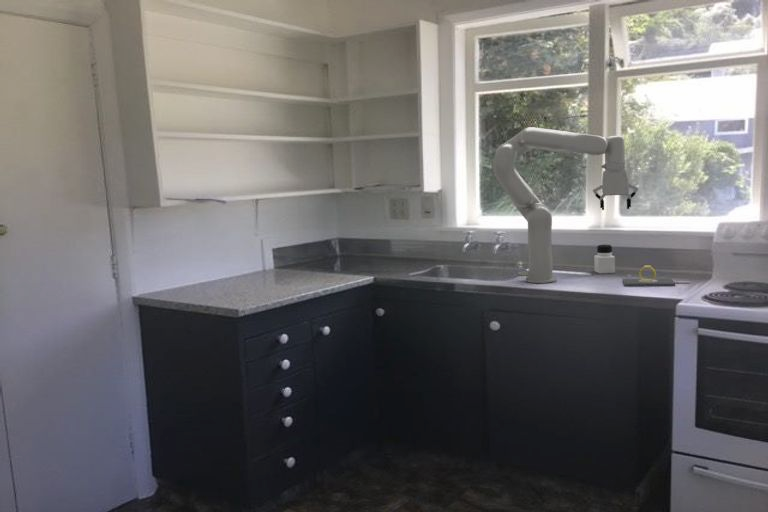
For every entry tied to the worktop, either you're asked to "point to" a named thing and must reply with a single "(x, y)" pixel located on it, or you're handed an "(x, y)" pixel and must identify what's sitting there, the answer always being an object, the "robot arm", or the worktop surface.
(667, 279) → the charging pad
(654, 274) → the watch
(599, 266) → the medicine bottle
